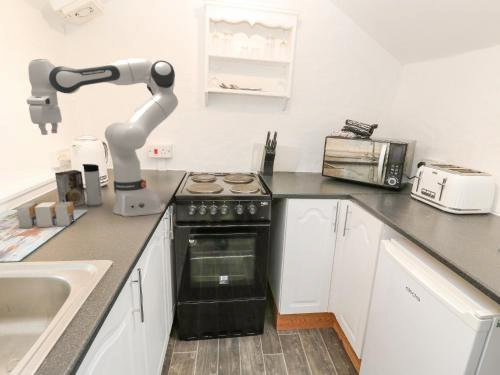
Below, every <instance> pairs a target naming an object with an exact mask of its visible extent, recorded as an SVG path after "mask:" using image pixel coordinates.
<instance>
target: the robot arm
mask: <svg viewBox="0 0 500 375" xmlns="http://www.w3.org/2000/svg"><path fill="white" fill-rule="evenodd" d="M27 70H28V79H29V83H30V86H31V90H30V91H31V92H30V94H31V96H29V97H28V98H26V103H27V105H28V111H29V116H30V120H31V123H32V124H35V125H38V128H39V129H40V132H41V135H43V136H47V135H48V134H49V133H48V130H47V125H46V124H50V125H51V130H50V131H51V134H58V126H59V125H58V124H59V123H62V120H63V119H62V114H61V113H62V112H61V109H60V107H59V102H58V100H59V99H58V92H59V93H61V94H67V95H68V94H69V95H73V94H75V93H77V92H79V90H80V88H81V87H83V86H90V85H94V84H101V83H108V84H113V85H117V86H131V85H136V84H146V88H147V90H148V91H149V92H150V94H151V95H152V96H151V97H150V98H149V99H147V100H145V102H144V103H142V104H141V105H139V106H138V107H137V108H136V109H135V110H134V113H133V114H132V115H131V116H130V117H129V118H128V119H127V120H126V121H124V122H113V123H111V124H110V125H108V126H107V127H106V129H105V131H104V138H105V140H106V142H107V146H108V150H109V154H110V157H111V162H112V166H113V176H114V177H113V178H114V180H113V191H114V206H113V210H112V212H113V213H114V214H116V215H121V216H122V217H126V218H127V217H136V216H137V217H138V216H145V215H147V216H148V215H156V214H162V213H163V212H164V211H165V210H166V204H165V203H164V202H161V199H160V196H159V194H157V193H156V192H155V191H153V190H151V189H150V188H149V187H147V180H146V179H142V172H141V161H140V159H139V157H138V155H137V151H136V150H139V149H141V148H143V147H144V146H145V144H146V142H147V139H148V137H149V136H150V135H151V134H152V132H153V131H154V130H155V129H156V128H157V127H158V126H159V125H160V124H162V123H163V122H164V121H165V120H167V118H168V117H169V116H171V115H172V113H173V112H174V111H175V110H176V109H177V106H178V105H179V100H178V98H177V96H176V94H175V93H174V87H175V80H176V79H175V78H176V72H175V69H174V67H173V66H172V64H171V63H170V62H168V61H165V60H161V59H160V60H156V61H155V62H154V63H152V61H151V60H150V59H148V58H144V57H143V58H142V57H139V58H138V57H132V58H122V59H119V60H115V61H111V62H109V63H106V64H104V65H100V66H93V67H85V68H72V67H68V66H63V65H61V66H60V65H57V64H55V63H53V62H52V61H51V60H50V59H45V58H44V59H42V58H40V59H33V60H30V62H29V63H28V69H27Z"/></svg>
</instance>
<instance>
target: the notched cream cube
mask: <svg viewBox="0 0 500 375" xmlns="http://www.w3.org/2000/svg"><path fill="white" fill-rule="evenodd" d="M57 205H58V203H57V201H50V202H48V201H47V202H41V203H39V204H37V206H36V207H35V213H36V219H37V225H38V226H37V228H45V227H46V228H47V227H48V228H50V227H49V226H52V227H53V226H54V225H53V219H52V217H54V216H56V211H55V206H57Z"/></svg>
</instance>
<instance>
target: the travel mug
mask: <svg viewBox="0 0 500 375" xmlns="http://www.w3.org/2000/svg"><path fill="white" fill-rule="evenodd" d="M82 166H83V175H84V182H85V183H84V184H85V191H86V193H85V194H86V199H87V201H86V202H87V206H88V207H91V208H93V207H94V208H95V207H100V206H102V205H103V197H102V196H103V195H102V186H101V176H100V175H101V174H100V168H99V166H100V165H99V164H94V163H93V164H92V163H82Z"/></svg>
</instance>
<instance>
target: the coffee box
mask: <svg viewBox="0 0 500 375" xmlns="http://www.w3.org/2000/svg"><path fill="white" fill-rule="evenodd" d="M54 174H55V180H56V181H55V182H56V190H57V194H58V202H59V203H61V202H73V205H74V208H75V207H78V206H81V205H82V206H83V205H86V202H87V201H86V195H85V194H86V193H85V188H84V180H83V172H82V171H80V170H78V169H77V170H76V169H73V170H64V171H60V172H58V171H57V172H54ZM59 203H58V204H59Z"/></svg>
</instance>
